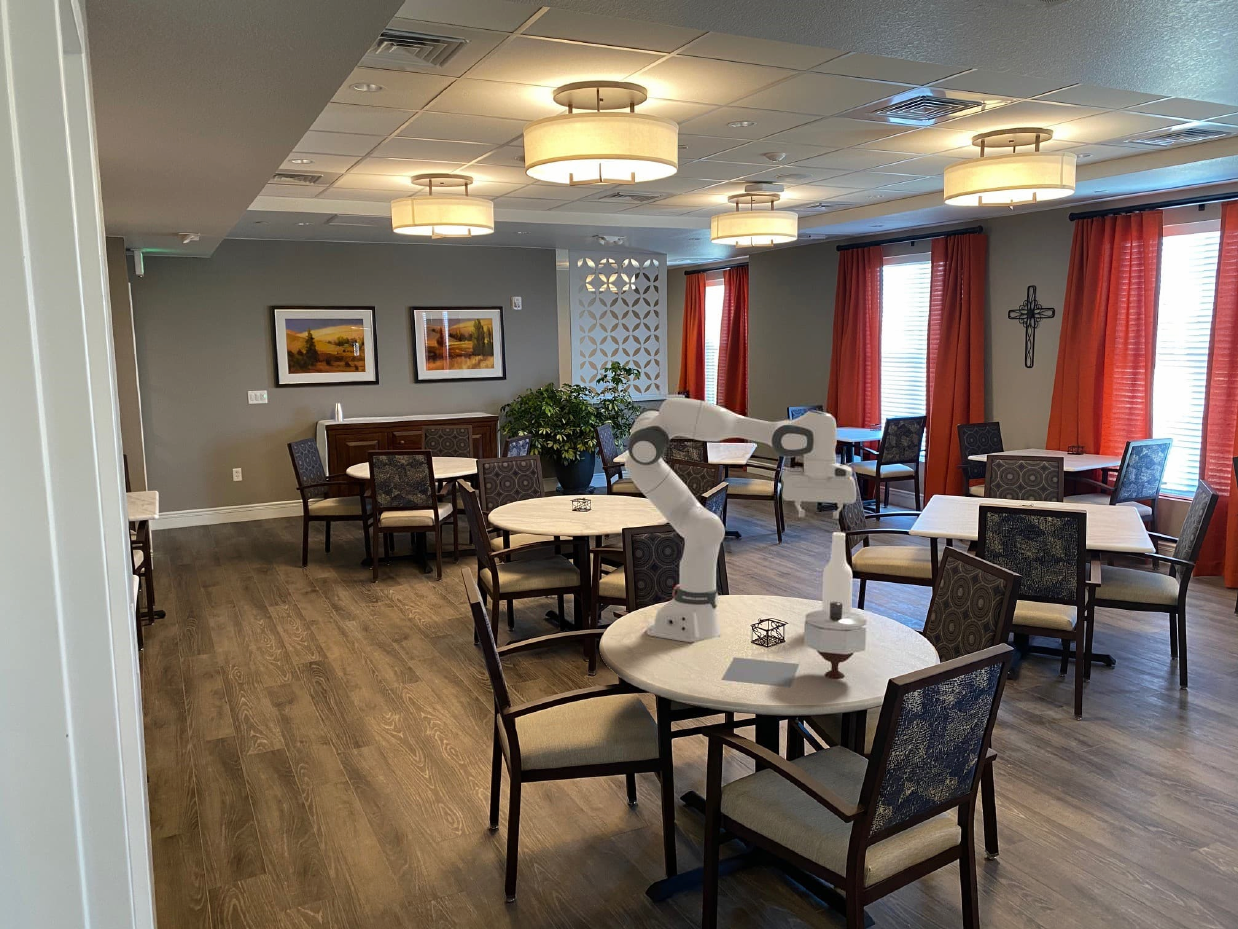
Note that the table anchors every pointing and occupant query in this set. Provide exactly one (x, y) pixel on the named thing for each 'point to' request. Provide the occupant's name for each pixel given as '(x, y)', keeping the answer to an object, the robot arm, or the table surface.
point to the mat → (761, 672)
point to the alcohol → (837, 576)
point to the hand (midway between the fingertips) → (818, 517)
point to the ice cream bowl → (835, 663)
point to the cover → (835, 630)
